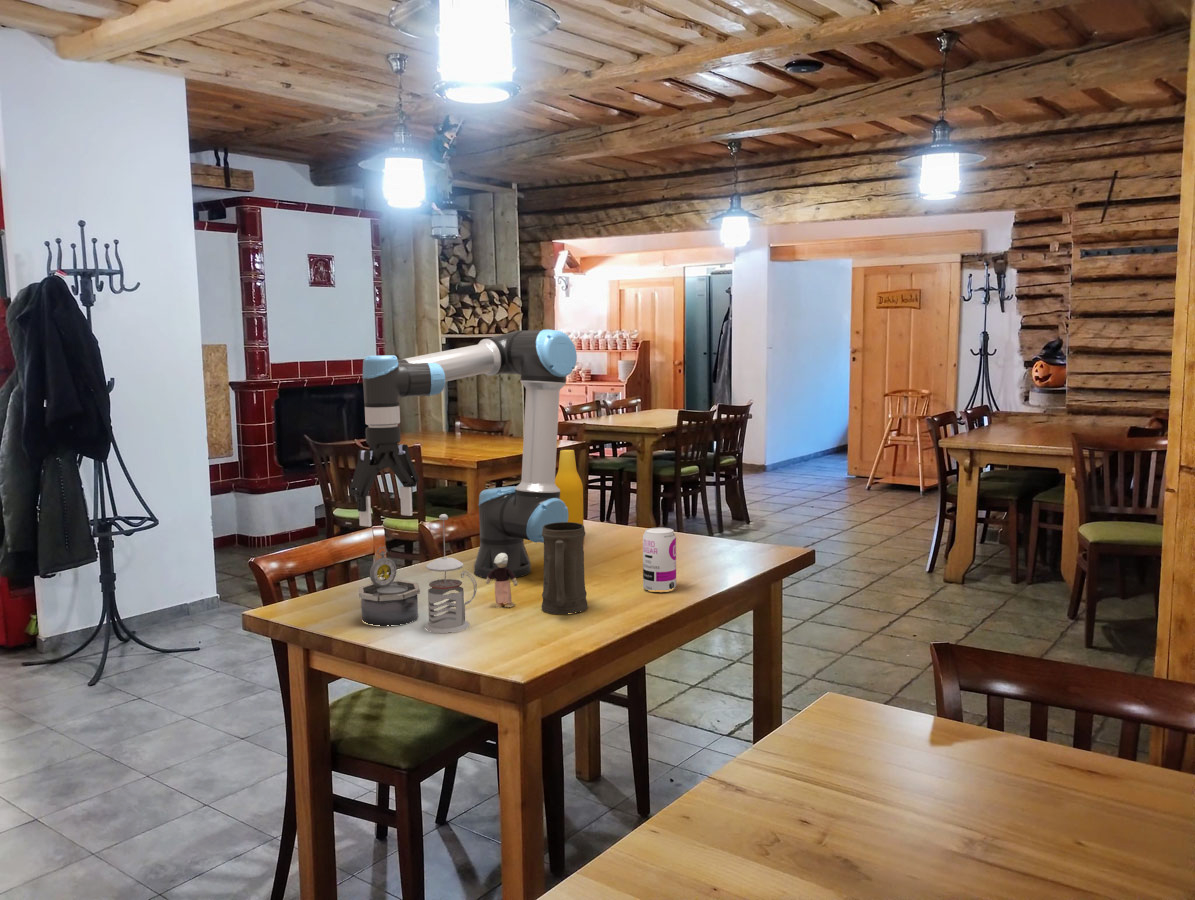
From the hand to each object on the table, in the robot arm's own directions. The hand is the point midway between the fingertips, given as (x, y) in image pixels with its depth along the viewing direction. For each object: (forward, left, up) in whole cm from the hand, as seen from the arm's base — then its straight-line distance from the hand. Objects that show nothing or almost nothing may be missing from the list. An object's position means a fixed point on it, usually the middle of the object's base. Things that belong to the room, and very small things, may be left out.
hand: (386, 520), depth 213 cm
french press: (-12, +10, -23) cm, 28 cm away
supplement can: (-66, -4, -23) cm, 70 cm away
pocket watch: (0, 0, -17) cm, 17 cm away
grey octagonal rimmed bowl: (0, 0, -23) cm, 23 cm away
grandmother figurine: (-26, -2, -23) cm, 34 cm away
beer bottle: (-57, -60, -23) cm, 86 cm away
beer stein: (-39, +7, -23) cm, 46 cm away
